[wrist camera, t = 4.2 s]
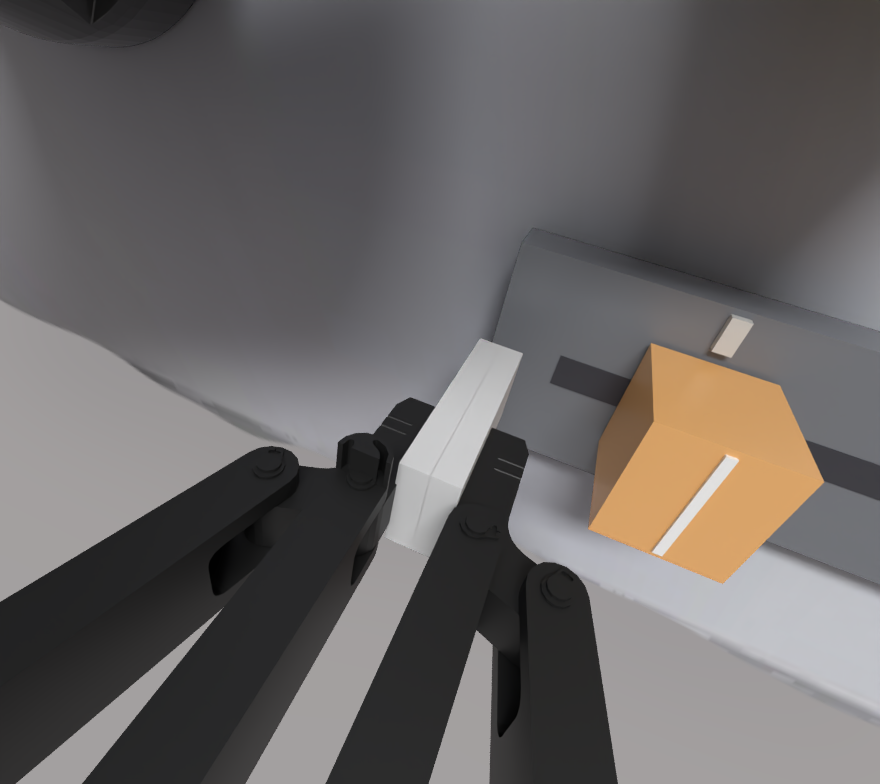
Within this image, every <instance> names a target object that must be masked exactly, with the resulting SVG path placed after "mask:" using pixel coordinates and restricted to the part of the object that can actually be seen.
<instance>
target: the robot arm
mask: <svg viewBox="0 0 880 784" xmlns="http://www.w3.org/2000/svg"><path fill="white" fill-rule="evenodd" d="M194 1H195V0H0V24H2V25H4V26H7V27H9V28H11V29H14V30H16V31H19V32H21V33H24V34H27V35H30V36H33V37H37V38H40V39H44V40H49V41H53V42H58V43H68V44H80V45H93V46H107V47H126V46H133V45H137V44H141V43H144V42H147V41H149V40H151V39H154V38H156V37H157V36H159V35H161V34H162V33H164V32H165V31H167V30H168V29H169V28H170V27H172V26H173V25H174V24H175V23H176V22H177V21H178V20H179V19H180V18H181V17H182V16H183V15H184V14H185V13H186V11H187V10H188V9H189V8H190V6H191V5H192V4H193V2H194ZM522 355H523V353H521V352H518V351H515V350H512V349H509V348H506V347H504V346H501V345H498V344H495V343H492V342H489V341H487V340H484V339H481V338H480V339H479V341H478V342H477V344H476V345H475V347H474V349H473V350H472V352H471V353H470V355H469V356H468V358H467V359H466V361H465V362H464V364H463V365H462V367H461V369H460V370H459V372H458V373H457V375H456V376H455V378H454V379H453V381H452V382H451V384H450V385H449V387H448V389H447V390H446V392H445V393H444V395H443V396H442V398H441V399H440V401H439V402H438V404H437V405H436V407H434V406H432V405H429V404H426V403H424V402H421V401H419V400H416V399H413V398H411V397H410V398H408V399H406V400H404V401H402V402H400V403H398V404H397V405H396V406H395V407H394V408H393V410H392V411H391V412H390V414H389V415H388V417H386V419H385V420H384V421H383V423H382V425H381V426H379V428H378V429H377V430H376V432H375V433H374V434H369V433H355V434H352V435H349V436H346V437H344V438H343V439H342V440H340V441H339V442H338V450H337V462H336V468H329V469H324V468H314V467H306V466H299V463H298V459H297V457H296V456H295V455H294V454H293V453H292V452H291V451H288V450H286V449H284V448H281V447H273V446H269V447H261V448H258V449H256V450H253V451H251V452H249V453H247V454H245V455H244V456H242V457H240V458H239V459H237V460H235V461H234V462H232V463H230V464H229V465H227V466H226V467H224V468H222V469H220V470H219V471H217V472H216V473H214V474H212V475H211V476H209V477H207V478H206V479H204V480H202V481H201V482H199V483H197V484H196V485H194V486H192V487H191V488H189V489H187V490H186V491H184V492H182V493H181V494H179V495H177V496H176V497H174V498H172V499H171V500H169V501H167V502H166V503H164V504H162V505H161V506H159V507H157V508H156V509H154V510H152V511H151V512H149V513H147V514H146V515H144V516H142V517H141V518H139V519H137V520H136V521H134V522H132V523H131V524H129V525H128V526H126V527H124V528H122V529H121V530H119V531H117V532H116V533H114V534H113V535H111V536H109V537H107V538H106V539H104V540H102V541H101V542H99V543H98V544H96V545H94V546H92V547H91V548H89V549H88V550H86V551H84V552H83V553H81V554H79V555H78V556H76V557H74V558H73V559H71V560H69V561H68V562H66V563H64V564H63V565H61V566H60V567H58V568H56V569H54V570H53V571H51V572H49V573H48V574H46V575H44V576H43V577H41V578H39V579H38V580H36V581H34V582H33V583H31V584H29V585H28V586H26V587H24V588H23V589H21V590H19V591H18V592H16V593H14V594H13V595H11V596H9V597H8V598H6V599H4V600H3V601H1V602H0V784H16V783H17V782H18V781H19V780H20V779H21V778H23V777H24V776H25V775H26V774H27V773H29V772H30V771H31V770H32V769H33V768H34V767H36V766H37V765H38V764H39V763H40V762H41V761H43V760H44V759H45V758H46V757H47V756H49V755H50V754H51V753H52V752H53V751H55V749H57V748H58V747H59V746H60V745H62V744H63V743H64V742H65V741H66V740H67V739H69V738H70V737H71V736H72V735H73V734H74V733H76V732H77V731H78V730H79V729H80V728H82V727H83V726H84V725H85V724H86V723H88V722H89V721H90V720H91V719H92V718H94V717H95V716H96V715H97V714H98V713H99V712H100V711H102V710H103V709H104V708H105V707H106V706H108V705H109V704H110V703H111V702H112V701H114V700H115V699H116V698H117V697H118V696H119V695H121V694H122V693H123V692H124V691H125V690H127V689H128V688H129V687H130V686H131V685H132V684H134V683H135V682H136V681H137V680H138V679H139V678H140V677H142V676H143V675H144V674H145V673H146V672H148V671H149V670H150V669H151V668H153V667H154V666H155V665H156V664H157V663H158V662H159V661H161V660H162V659H163V658H164V657H166V656H167V655H168V654H169V653H170V652H171V651H173V650H174V649H175V648H176V647H177V646H179V645H180V644H181V643H182V642H183V641H184V640H186V639H187V638H188V637H189V636H190V635H192V634H193V633H194V632H195V631H196V630H197V629H199V628H200V627H201V626H202V625H203V624H205V623H206V622H207V621H208V620H209V619H210V618H212V617H213V616H214V615H215V614H216V613H217V612H219V611H220V610H221V609H222V608H223V607H224V608H223V609H222V610H221V612H220V613H219V614H218V615H217V617H216V618H215V619H214V620H213V622H212V623H211V624H210V625H209V627H208V628H207V629H206V630H205V631H204V633H203V634H202V635H201V636H200V638H199V639H198V640H197V641H196V643H195V644H194V645H193V646H192V648H191V649H190V650H189V652H188V653H187V654H186V655H185V657H184V658H183V659H182V660H181V661H180V663H179V664H178V665H177V666H176V668H175V669H174V670H173V672H172V673H171V674H170V675H169V676H168V678H167V679H166V680H165V681H164V683H163V684H162V685H161V686H160V688H159V689H158V690H157V691H156V692H155V694H154V695H153V696H152V697H151V699H150V700H149V701H148V702H147V704H146V705H145V706H144V707H143V709H142V710H141V711H140V712H139V714H138V715H137V716H136V717H135V719H134V720H133V721H132V722H131V724H130V725H129V726H128V727H127V729H126V730H125V731H124V732H123V734H122V735H121V736H120V737H119V739H118V740H117V741H116V742H115V744H114V745H113V746H112V747H111V748H110V750H109V751H108V752H107V753H106V755H105V756H104V757H103V759H102V760H101V761H100V762H99V763H98V765H97V766H96V767H95V768H94V770H93V771H92V772H91V773H90V775H89V776H88V777H87V778H86V780H85V781H84V782H83V783H82V784H245V783H246V782H247V780H248V778H249V776H250V774H251V772H252V771H253V769H254V767H255V766H256V764H257V762H258V760H259V759H260V757H261V755H262V753H263V752H264V750H265V748H266V746H267V745H268V743H269V741H270V739H271V738H272V736H273V734H274V732H275V731H276V729H277V727H278V725H279V723H280V722H281V720H282V718H283V716H284V715H285V713H286V711H287V709H288V708H289V706H290V704H291V702H292V700H293V699H294V697H295V695H296V693H297V692H298V690H299V688H300V687H301V685H302V683H303V681H304V680H305V678H306V676H307V674H308V672H309V671H310V669H311V667H312V665H313V664H314V662H315V660H316V658H317V657H318V655H319V653H320V651H321V650H322V648H323V646H324V644H325V643H326V641H327V639H328V637H329V636H330V634H331V632H332V630H333V628H334V627H335V625H336V623H337V621H338V620H339V618H340V616H341V614H342V612H343V611H344V609H345V607H346V605H347V604H348V602H349V600H350V598H351V597H352V595H353V593H354V592H355V589H356V588H357V586H358V584H359V583H360V581H361V579H362V577H363V576H364V574H365V572H366V570H367V569H368V567H369V565H370V563H371V562H372V560H373V558H374V556H375V554H376V550H377V546H378V541H379V539H380V538H381V536H382V534H383V533H384V531H385V529H386V533H385V538H387V539H389V540H391V541H393V542H395V543H398V544H400V545H402V546H404V547H407V548H409V549H411V550H414V551H416V552H418V553H420V554H422V555H425V556H427V557H429V559H428V561H427V564H426V566H425V568H424V570H423V572H422V575H421V577H420V579H419V581H418V583H417V585H416V588H415V590H414V592H413V594H412V597H411V599H410V601H409V603H408V605H407V607H406V609H405V612H404V614H403V616H402V618H401V621H400V623H399V625H398V627H397V629H396V631H395V634H394V636H393V638H392V640H391V642H390V644H389V647H388V649H387V651H386V653H385V655H384V658H383V660H382V662H381V664H380V666H379V668H378V671H377V673H376V675H375V677H374V679H373V681H372V684H371V686H370V688H369V690H368V693H367V695H366V697H365V699H364V701H363V703H362V706H361V708H360V710H359V712H358V714H357V717H356V719H355V721H354V723H353V725H352V728H351V730H350V732H349V734H348V736H347V738H346V741H345V743H344V745H343V747H342V749H341V751H340V754H339V756H338V758H337V760H336V763H335V765H334V767H333V769H332V771H331V773H330V775H329V778H328V780H327V782H326V784H429V780H430V777H431V774H432V770H433V767H434V764H435V761H436V758H437V754H438V751H439V748H440V745H441V742H442V738H443V735H444V732H445V728H446V726H447V722H448V719H449V716H450V713H451V709H452V706H453V703H454V700H455V696H456V693H457V690H458V687H459V684H460V680H461V677H462V674H463V671H464V667H465V664H466V661H467V658H468V654H469V651H470V648H471V645H472V642H473V638H474V635H475V632H476V630H477V631H479V633H481V634H482V635H483V636H484V637H485V638H486V639H487V640H488V641H489V642H490V643H491V644H493V657H492V701H491V745H490V746H491V747H490V784H618V782H617V775H616V769H615V763H614V756H613V749H612V743H611V736H610V730H609V723H608V717H607V711H606V704H605V697H604V691H603V684H602V678H601V671H600V665H599V658H598V652H597V645H596V639H595V633H594V626H593V619H592V614H591V606H590V600H589V596H588V593H587V590H586V587H585V585H584V584H583V583H582V581H581V580H580V579H579V577H578V576H577V575H576V574H575V573H573V572H572V571H571V570H569V569H568V568H567V567H565V566H562V565H559V564H557V563H550V562H543V563H541V564H538V565H537V564H536V563H535V562H533V561H532V560H531V559H529V558H528V557H527V556H525V555H524V554H523V553H522V552H521V551H520V550H519V549H518V548H517V547H516V545H515V544H514V542H513V541H512V539H511V536H510V534H509V530H508V521H509V516H510V513H511V510H512V507H513V503H514V500H515V497H516V494H517V490H518V487H519V484H520V480H521V478H522V474H523V471H524V468H525V465H526V461H527V458H528V455H529V453H528V449H527V445H526V441H525V440H523V439H521V438H518V437H516V436H513V435H510V434H508V433H505V432H502V431H500V430H497V429H496V427H497V425H498V423H499V420H500V418H501V416H502V413H503V410H504V407H505V404H506V401H507V398H508V396H509V393H510V390H511V387H512V384H513V381H514V378H515V375H516V373H517V370H518V367H519V364H520V361H521V358H522ZM386 527H387V528H386Z"/></svg>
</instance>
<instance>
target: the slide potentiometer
mask: <svg viewBox="0 0 880 784" xmlns="http://www.w3.org/2000/svg"><path fill="white" fill-rule="evenodd" d="M492 343H495V344H498V345H501V346H504V347H506V348H509V349H512V350H515V351H518V352H521V353H523V355H522V358H521V361H520V364H519V367H518V370H517V373H516V375H515V378H514V381H513V384H512V387H511V390H510V393H509V396H508V398H507V401H506V404H505V407H504V410H503V413H502V416H501V418H500V420H499V423H498V425H497V427H496V429H497V430H500V431H502V432H505V433H508V434H510V435H513V436H516V437H518V438H521V439H523V440H525V441H526V445H527V449H529V450H531V451H534V452H537V453H539V454H542V455H544V456H547V457H550V458H552V459H555V460H557V461H560V462H563V463H565V464H568V465H570V466H573V467H576V468H578V469H581V470H583V471H586V472H589V473H591V474H594V475H595V469H596V460H597V452H598V444H599V440H600V438H601V436H602V434H603V432H604V430H605V428H606V427H607V425H608V423H609V421H610V419H611V417H612V415H613V414H614V412H615V410H616V408H617V406H618V404H619V402H620V400H621V399H622V397H623V395H624V393H625V391H626V389H627V387H628V385H629V384H630V382H631V380H632V378H633V376H634V374H635V372H636V370H637V369H638V367H639V365H640V363H641V361H642V359H643V357H644V355H645V354H646V352H647V350H648V348H649V346H650V344H651V343H653V344H656V345H659V346H662V347H665V348H668V349H671V350H674V351H677V352H680V353H683V354H686V355H689V356H692V357H695V358H698V359H701V360H704V361H707V362H710V363H713V364H716V365H719V366H722V367H726V368H729V369H732V370H735V371H738V372H741V373H744V374H747V375H750V376H753V377H756V378H759V379H762V380H765V381H768V382H771V383H774V384H777V385H780V386H781V389H782V391H783V393H784V395H785V397H786V400H787V402H788V404H789V406H790V408H791V410H792V413H793V415H794V417H795V419H796V421H797V424H798V426H799V428H800V430H801V432H802V434H803V437H804V439H805V441H806V443H807V445H808V448H809V450H810V452H811V454H812V456H813V458H814V461H815V463H816V465H817V467H818V469H819V471H820V474H821V476H822V478H823V480H824V483H823V484H822V485H821V486H820V487H819V488H818V489H817V490H816V491H815V492H814V493H813V494H812V495H811V496H810V497H809V498H808V499H807V500H806V501H805V502H804V503H803V504H802V505H801V506H800V507H799V508H798V509H797V510H796V511H795V512H794V513H793V514H792V515H791V516H790V517H789V518H788V519H787V520H786V521H785V522H784V523H783V524H782V525H781V526H780V527H779V528H778V529H777V530H776V531H775V532H774V533H773V534H772V535H771V536H770V537H769V538H768V539H767V540H766V541H768V542H770V543H773V544H776V545H778V546H781V547H783V548H786V549H789V550H791V551H794V552H796V553H799V554H802V555H804V556H807V557H809V558H812V559H815V560H817V561H820V562H822V563H825V564H828V565H830V566H833V567H835V568H838V569H841V570H843V571H846V572H848V573H851V574H854V575H856V576H859V577H861V578H864V579H866V580H869V581H872V582H874V583H877V584H879V585H880V332H879V331H876V330H873V329H869V328H866V327H863V326H859V325H856V324H853V323H849V322H846V321H843V320H839V319H836V318H833V317H829V316H826V315H823V314H819V313H816V312H813V311H809V310H806V309H803V308H799V307H796V306H793V305H789V304H786V303H783V302H779V301H776V300H773V299H769V298H766V297H763V296H759V295H756V294H753V293H749V292H746V291H743V290H739V289H736V288H733V287H729V286H726V285H723V284H719V283H716V282H713V281H709V280H706V279H703V278H699V277H696V276H693V275H689V274H686V273H683V272H679V271H676V270H673V269H669V268H666V267H663V266H659V265H656V264H653V263H649V262H646V261H643V260H639V259H636V258H633V257H629V256H626V255H623V254H619V253H616V252H613V251H609V250H606V249H603V248H599V247H596V246H593V245H589V244H586V243H583V242H579V241H576V240H573V239H569V238H566V237H563V236H559V235H556V234H553V233H549V232H546V231H543V230H539V229H536V228H532V230H531V231H530V232H529V234H528V235H527V236H526V237H525V239H524V240H523V241H522V243H521V246H520V250H519V253H518V257H517V260H516V263H515V267H514V270H513V273H512V277H511V280H510V284H509V287H508V290H507V294H506V297H505V300H504V304H503V307H502V311H501V314H500V317H499V321H498V324H497V327H496V331H495V334H494V338H493V341H492Z"/></svg>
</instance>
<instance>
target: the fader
mask: <svg viewBox="0 0 880 784" xmlns="http://www.w3.org/2000/svg"><path fill="white" fill-rule="evenodd" d="M823 483H824V480H823V478H822V476H821V474H820V471H819V469H818V467H817V465H816V463H815V461H814V458H813V456H812V454H811V452H810V450H809V448H808V445H807V443H806V441H805V439H804V437H803V434H802V432H801V430H800V428H799V426H798V424H797V421H796V419H795V417H794V415H793V413H792V410H791V408H790V406H789V404H788V402H787V400H786V397H785V395H784V393H783V391H782V389H781V386H780V385H777V384H774V383H771V382H768V381H765V380H762V379H759V378H756V377H753V376H750V375H747V374H744V373H741V372H738V371H735V370H732V369H729V368H726V367H722V366H719V365H716V364H713V363H710V362H707V361H704V360H701V359H698V358H695V357H692V356H689V355H686V354H683V353H680V352H677V351H674V350H671V349H668V348H665V347H662V346H659V345H656V344H653V343H651V344H650V346H649V348H648V350H647V352H646V354H645V355H644V357H643V359H642V361H641V363H640V365H639V367H638V369H637V370H636V372H635V374H634V376H633V378H632V380H631V382H630V384H629V385H628V387H627V389H626V391H625V393H624V395H623V397H622V399H621V400H620V402H619V404H618V406H617V408H616V410H615V412H614V414H613V415H612V417H611V419H610V421H609V423H608V425H607V427H606V428H605V430H604V432H603V434H602V436H601V438H600V440H599V444H598V452H597V460H596V469H595V477H594V485H593V493H592V501H591V510H590V518H589V526H588V529H589V530H592V531H594V532H596V533H599V534H601V535H604V536H606V537H609V538H611V539H614V540H616V541H619V542H621V543H624V544H626V545H628V546H631V547H633V548H636V549H638V550H641V551H643V552H646V553H648V554H651V555H653V556H656V557H658V558H660V559H663V560H665V561H668V562H670V563H673V564H675V565H678V566H680V567H683V568H685V569H688V570H690V571H692V572H695V573H697V574H700V575H702V576H705V577H707V578H710V579H712V580H715V581H717V582H720V583H722V584H723V583H724V582H725V581H726V580H727V579H728V578H729V577H730V576H731V575H732V574H733V573H734V572H735V571H736V570H737V569H738V568H739V567H740V566H741V565H742V564H743V563H744V562H745V561H746V560H747V559H748V558H749V557H750V556H751V555H752V554H753V553H754V552H755V551H756V550H757V549H758V548H759V547H760V546H761V545H762V544H763V543H764V542H765V541H766V540H767V539H768V538H769V537H770V536H771V535H772V534H773V533H774V532H775V531H776V530H777V529H778V528H779V527H780V526H781V525H782V524H783V523H784V522H785V521H786V520H787V519H788V518H789V517H790V516H791V515H792V514H793V513H794V512H795V511H796V510H797V509H798V508H799V507H800V506H801V505H802V504H803V503H804V502H805V501H806V500H807V499H808V498H809V497H810V496H811V495H812V494H813V493H814V492H815V491H816V490H817V489H818V488H819V487H820V486H821V485H822V484H823Z"/></svg>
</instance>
